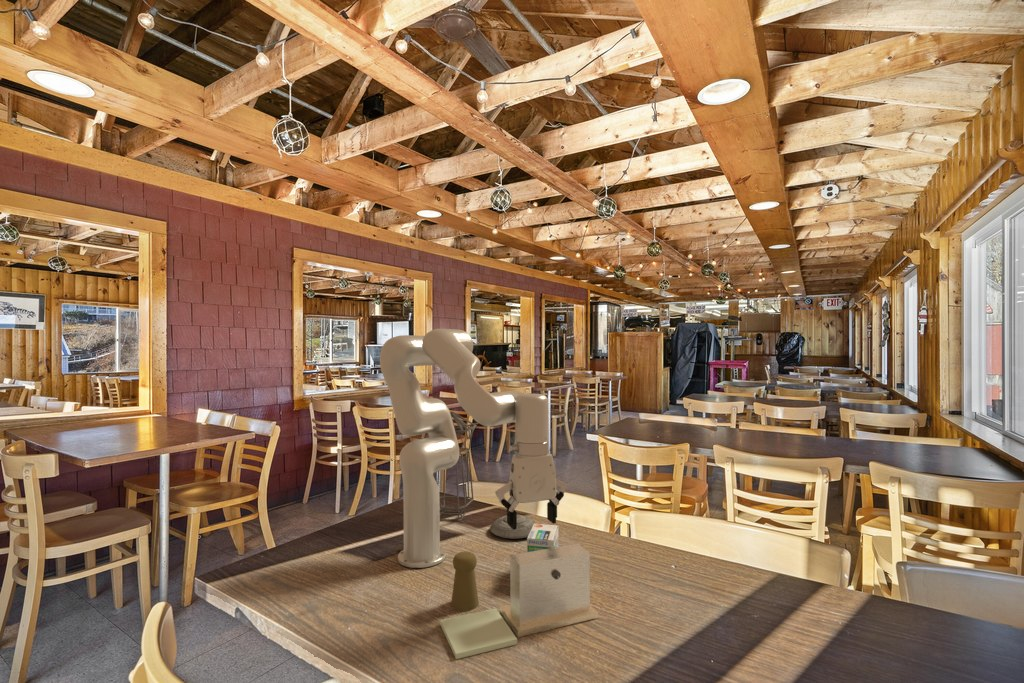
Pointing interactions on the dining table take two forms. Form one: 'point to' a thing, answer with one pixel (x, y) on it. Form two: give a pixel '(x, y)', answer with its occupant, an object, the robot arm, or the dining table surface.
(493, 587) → the dining table surface
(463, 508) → the geometric lantern
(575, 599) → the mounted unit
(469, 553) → the brown pawn
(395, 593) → the dining table surface
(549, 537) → the light bulb box
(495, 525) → the flying saucer
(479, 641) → the mat
